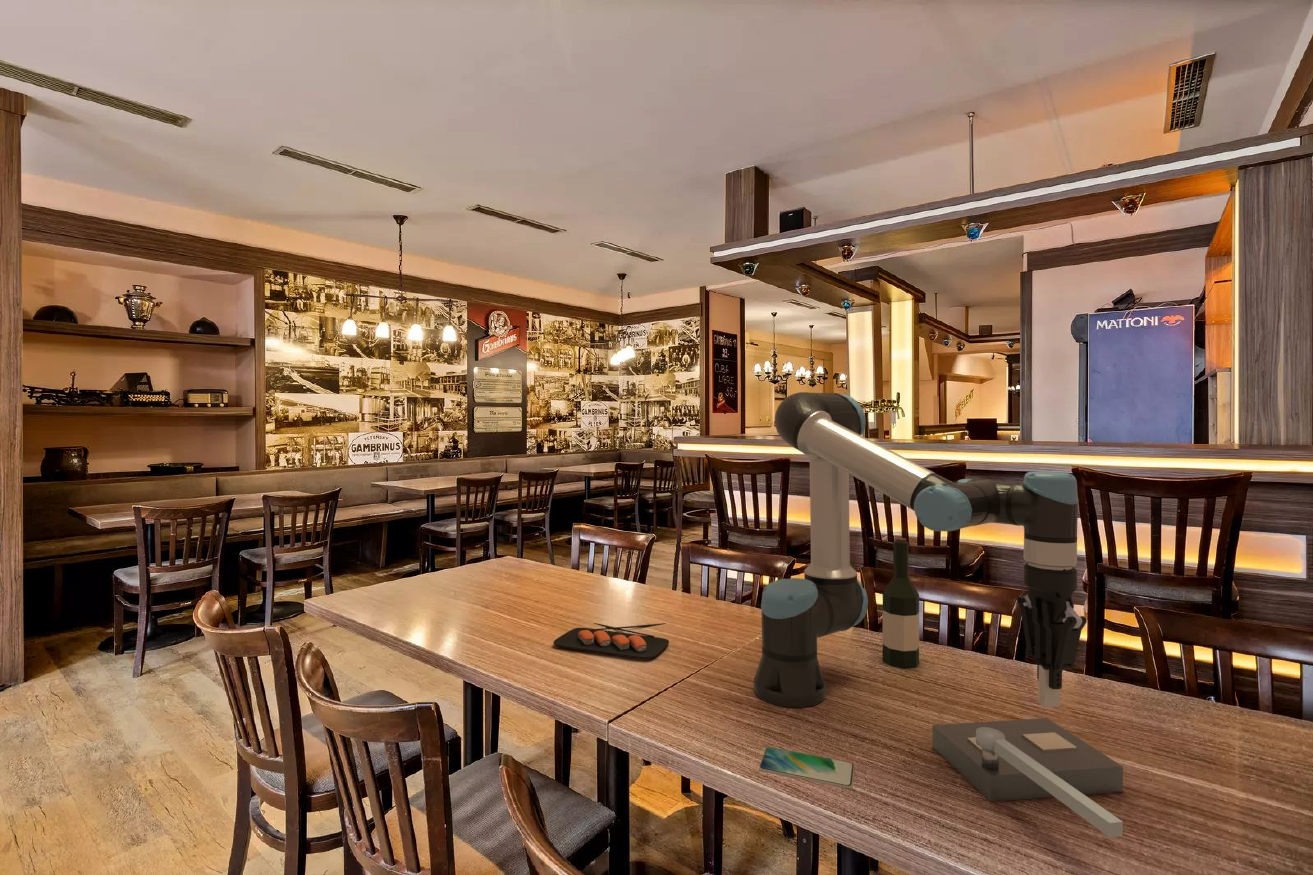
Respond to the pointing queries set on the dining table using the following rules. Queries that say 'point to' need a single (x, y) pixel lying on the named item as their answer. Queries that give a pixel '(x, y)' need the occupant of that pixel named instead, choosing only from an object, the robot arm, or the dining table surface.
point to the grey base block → (1038, 742)
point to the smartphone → (808, 767)
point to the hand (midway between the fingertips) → (1049, 704)
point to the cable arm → (1050, 782)
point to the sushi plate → (614, 641)
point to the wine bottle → (900, 613)
